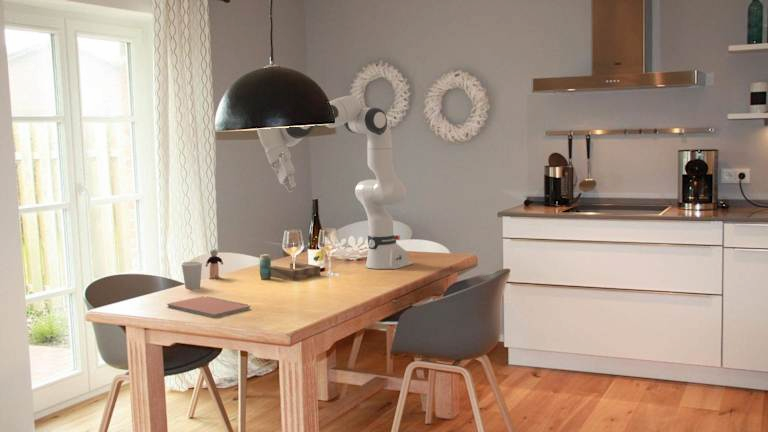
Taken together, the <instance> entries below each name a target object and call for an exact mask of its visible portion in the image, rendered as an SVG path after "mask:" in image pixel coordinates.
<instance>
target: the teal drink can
mask: <svg viewBox="0 0 768 432" xmlns="http://www.w3.org/2000/svg"><path fill="white" fill-rule="evenodd" d="M270 256H271V255H270V254H266V253H265V254H260V255H259V260H258V261H259V276H260V280H261V281H266V280H267V281H269V280H271V276H270V275H271V266H272V265H271V262H272V261H271V257H270Z"/></svg>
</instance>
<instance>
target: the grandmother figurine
mask: <svg viewBox="0 0 768 432" xmlns="http://www.w3.org/2000/svg"><path fill="white" fill-rule="evenodd" d="M209 252H210V253H209V254H210V255H211V256H210V257H209V258H208V259H207V260H206V263H205V265H204V266H205V267H209V278H208V279H209V280H212V279H214V278H215V279H220V276H219V263H220V264H221V265H224V262H223V259H222V257H220V256H218V253H219V250H218V249H217V248H214V247H213V248H210V251H209Z"/></svg>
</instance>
